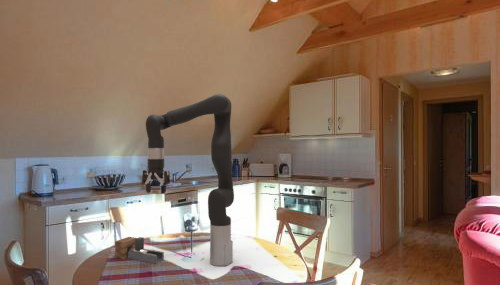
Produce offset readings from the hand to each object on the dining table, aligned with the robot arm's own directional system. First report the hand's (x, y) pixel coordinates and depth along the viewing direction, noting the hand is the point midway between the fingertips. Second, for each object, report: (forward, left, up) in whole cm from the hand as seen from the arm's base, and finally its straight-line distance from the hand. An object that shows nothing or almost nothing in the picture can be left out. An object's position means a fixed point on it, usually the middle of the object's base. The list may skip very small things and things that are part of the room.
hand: (155, 192), depth 151 cm
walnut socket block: (+15, +3, -30) cm, 34 cm away
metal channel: (+3, +3, -30) cm, 30 cm away
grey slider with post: (+9, +3, -29) cm, 31 cm away
